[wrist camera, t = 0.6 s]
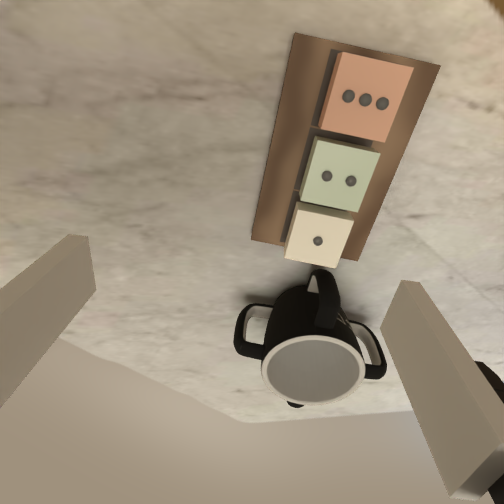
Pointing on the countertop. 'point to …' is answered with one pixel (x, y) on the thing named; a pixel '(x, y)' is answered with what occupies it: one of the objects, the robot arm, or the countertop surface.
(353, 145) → the key
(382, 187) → the board
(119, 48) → the countertop surface
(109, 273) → the countertop surface
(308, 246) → the key
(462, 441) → the robot arm
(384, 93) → the key
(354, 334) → the mug
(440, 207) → the countertop surface
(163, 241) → the countertop surface
